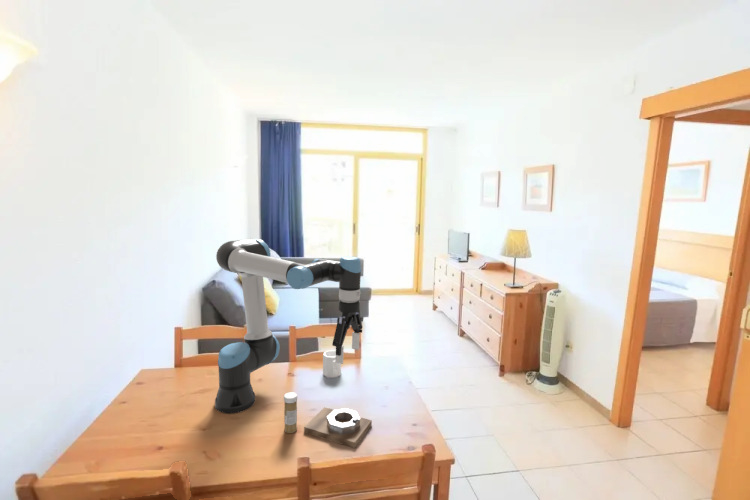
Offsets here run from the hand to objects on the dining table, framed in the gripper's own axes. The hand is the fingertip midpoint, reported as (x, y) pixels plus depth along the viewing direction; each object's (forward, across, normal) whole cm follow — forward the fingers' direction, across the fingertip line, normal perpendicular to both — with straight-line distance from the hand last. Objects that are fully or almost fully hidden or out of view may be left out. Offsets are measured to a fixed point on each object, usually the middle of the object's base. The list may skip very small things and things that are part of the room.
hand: (347, 355), depth 141 cm
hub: (+23, -7, -2) cm, 24 cm away
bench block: (+25, -7, 0) cm, 26 cm away
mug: (+26, +29, +21) cm, 44 cm away
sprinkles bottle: (+26, -14, +15) cm, 33 cm away
